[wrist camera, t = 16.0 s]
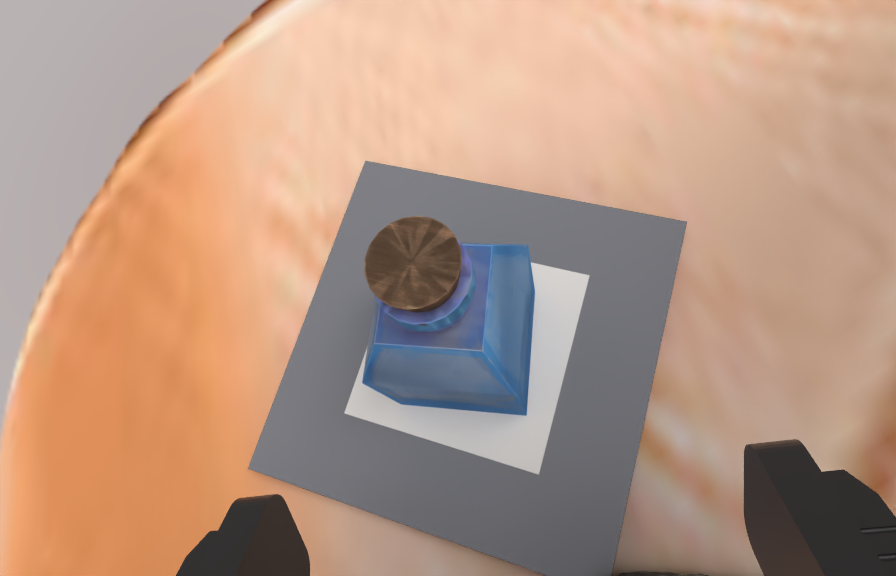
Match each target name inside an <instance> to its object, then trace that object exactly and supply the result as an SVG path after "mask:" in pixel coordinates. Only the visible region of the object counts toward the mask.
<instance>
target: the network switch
mask: <svg viewBox="0 0 896 576" xmlns="http://www.w3.org/2000/svg"><path fill="white" fill-rule="evenodd" d="M617 576H707V575H704V574H687V575H679V574H673V573H667V572H647V571H641V572H631V573H621V574H618V575H617Z"/></svg>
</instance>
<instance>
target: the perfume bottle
mask: <svg viewBox="0 0 896 576" xmlns="http://www.w3.org/2000/svg"><path fill="white" fill-rule="evenodd" d="M364 274H365V277H366V280H367V283H368V286H369V288H370V289H371V291H372V292H373V293H374V296H375V301H374V308H373V314H372V321H371V327H370V334H369V341H368V347H367V354H366V360H365V367H364V373H363V380H362V383H363V384H364V385H366V386H368V387H370V388H372V389H374V390H375V391H377V392H379V393H381V394H383V395H385V396H387V397H388V398H390V399H392V400H394V401H396V402H398V403H399V404H401V405H412V406H423V407H434V408H446V409H457V410H468V411H479V412H490V413H501V414H512V415H523V416H527V404H528V389H529V374H530V360H531V345H532V330H533V316H534V301H535V288H534V281H533V274H532V267H531V260H530V253H529V246H528V245H520V244H488V243H460V242H459V241H458V240H457V238H456V236H455V235H454V233H453V232H452V231H451V230H450V229H449V228H448V227H447V226H446V225H445V224H443V223H441V222H439V221H437V220H436V219H434V218H429V217H424V216H411V217H403V218H401V219H399V220H396V221H394V222H392V223H389V224H388V225H387V226H386V227H385V228H383V229H382V230H381V231H380V232H378V233H377V235H376V236H375V238H374V239H373V241H372V242H371V243H370V245H369V247H368V250H367V253H366V256H365V259H364Z"/></svg>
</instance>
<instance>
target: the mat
mask: <svg viewBox="0 0 896 576" xmlns="http://www.w3.org/2000/svg"><path fill="white" fill-rule="evenodd" d="M411 216H424V217H429V218H434V219H436V220H437V221H439V222H441V223H443V224H445V225H446V226H447V227H448V228H449V229H450V230H451V231H452V232H453V233H454V235H455V236H456V238H457V240H458V241H459V242H460V243H488V244H520V245H528V246H529V253H530V260H531V267H532V274H533V281H534V288H535V301H534V316H533V330H532V345H531V360H530V374H529V389H528V404H527V416H523V415H512V414H501V413H490V412H479V411H468V410H457V409H446V408H434V407H423V406H412V405H401V404H399V403H398V402H396V401H394V400H392V399H390V398H388V397H387V396H385V395H383V394H381V393H379V392H377V391H375V390H374V389H372V388H370V387H368V386H366V385H364V384H363V383H362V380H363V373H364V367H365V360H366V354H367V347H368V341H369V334H370V327H371V321H372V314H373V308H374V301H375V296H374V293H373V292H372V291H371V289H370V288H369V286H368V283H367V280H366V277H365V274H364V259H365V256H366V253H367V250H368V247H369V245H370V243H371V242H372V241H373V239H374V238H375V236H376V235H377V233H378V232H380V231H381V230H382V229H383V228H385V227H386V226H387V225H388V224H389V223H392V222H394V221H396V220H399V219H401V218H403V217H411ZM686 224H687V222H685V221H680V220H675V219H669V218H664V217H659V216H654V215H648V214H643V213H638V212H633V211H627V210H622V209H617V208H612V207H606V206H601V205H596V204H590V203H585V202H580V201H575V200H569V199H564V198H559V197H554V196H548V195H543V194H538V193H533V192H527V191H522V190H517V189H512V188H506V187H501V186H496V185H490V184H485V183H480V182H475V181H469V180H464V179H459V178H454V177H448V176H443V175H438V174H433V173H427V172H422V171H417V170H412V169H406V168H401V167H396V166H390V165H385V164H380V163H375V162H369V161H365V163H364V166H363V168H362V171H361V174H360V176H359V179H358V182H357V184H356V187H355V189H354V192H353V195H352V197H351V200H350V203H349V205H348V208H347V210H346V213H345V216H344V218H343V221H342V224H341V226H340V229H339V231H338V234H337V237H336V239H335V242H334V244H333V247H332V250H331V252H330V255H329V258H328V260H327V263H326V265H325V268H324V271H323V273H322V276H321V279H320V281H319V284H318V286H317V289H316V292H315V294H314V297H313V300H312V302H311V305H310V307H309V310H308V313H307V315H306V318H305V321H304V323H303V326H302V328H301V331H300V334H299V336H298V339H297V342H296V344H295V347H294V349H293V352H292V355H291V357H290V360H289V363H288V365H287V368H286V370H285V373H284V376H283V378H282V381H281V383H280V386H279V389H278V391H277V394H276V397H275V399H274V402H273V404H272V407H271V410H270V412H269V415H268V418H267V420H266V423H265V425H264V428H263V431H262V433H261V436H260V439H259V441H258V444H257V446H256V449H255V452H254V454H253V457H252V460H251V462H250V465H249V467H248V469H251V470H253V471H256V472H259V473H262V474H265V475H267V476H270V477H273V478H276V479H278V480H281V481H284V482H287V483H290V484H292V485H295V486H298V487H301V488H304V489H306V490H309V491H312V492H315V493H317V494H320V495H323V496H326V497H329V498H331V499H334V500H337V501H340V502H343V503H345V504H348V505H351V506H354V507H357V508H359V509H362V510H365V511H368V512H370V513H373V514H376V515H379V516H382V517H384V518H387V519H390V520H393V521H396V522H398V523H401V524H404V525H407V526H409V527H412V528H415V529H418V530H421V531H423V532H426V533H429V534H432V535H435V536H437V537H440V538H443V539H446V540H449V541H451V542H454V543H457V544H460V545H462V546H465V547H468V548H471V549H474V550H476V551H479V552H482V553H485V554H488V555H490V556H493V557H496V558H499V559H501V560H504V561H507V562H510V563H513V564H515V565H518V566H521V567H524V568H527V569H529V570H532V571H535V572H538V573H541V574H543V575H546V576H611V574H612V570H613V565H614V560H615V556H616V551H617V546H618V542H619V537H620V532H621V528H622V523H623V518H624V514H625V509H626V504H627V500H628V495H629V490H630V486H631V481H632V476H633V472H634V467H635V462H636V458H637V453H638V448H639V443H640V439H641V434H642V429H643V425H644V420H645V415H646V411H647V406H648V401H649V397H650V392H651V387H652V383H653V378H654V373H655V369H656V364H657V359H658V355H659V350H660V345H661V341H662V336H663V331H664V327H665V322H666V317H667V313H668V308H669V303H670V299H671V294H672V289H673V285H674V280H675V275H676V271H677V266H678V261H679V257H680V252H681V247H682V243H683V238H684V233H685V229H686Z"/></svg>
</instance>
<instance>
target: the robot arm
mask: <svg viewBox="0 0 896 576" xmlns="http://www.w3.org/2000/svg"><path fill="white" fill-rule="evenodd" d="M744 518H745V524H746V529H747V533H748V537H749V540H750V543H751V546H752V549H753V551H754V554H755V556H756V558H757V560H758V563H759V565H760V567H761V569H762V572H763V574H764V576H896V517H895V516H894V515H893V513H892V512H891V511H890V509H889V508H888V507H887V505H886V504H885V503H884V501H883V500H882V499H881V497H880V496H879V495H878V494H877V493H876V492H875V491H873V490H872V489H870V488H869V487H868V486H866V485H865V484H863V483H862V482H861V481H859V480H858V479H856V478H855V477H854V476H852V475H851V474H849V473H848V472H847V471H845V470H836V471H826V472H821V470H820V469H819V467H818V466H817V464H816V463H815V461H814V460H813V458H812V457H811V455H810V454H809V452H808V451H807V449H806V448H805V446H804V445H803V444H802V443H801V442H800V441H799V440H796V439H794V440H785V441H776V442H766V443H757V444H748V445H746V447H745V450H744ZM176 576H310V561H309V555H308V551H307V549H306V547H305V544H304V542H303V540H302V538H301V535H300V533H299V531H298V529H297V526H296V524H295V522H294V520H293V518H292V515H291V513H290V511H289V509H288V506H287V504H286V502H285V500H284V499H283V497H282V496H280V495H278V494H274V495H265V496H255V497H246V498H239V499H237V500H235V501H234V502H233V504H232V505H231V507H230V509H229V510H228V512H227V514H226V516H225V518H224V520H223V522H222V524H221V526H220V528H219V530H218V531H210V532H209V533H208V534H207V535H206V536H205V537H204V538H203V539H202V540H201V541H200V542H199V544H198V545H197V546H196V547H195V548H194V549H193V550H192V551H191V552H190V553H189V554H188V555H187V556H186V558H185V560H184V562H183V563H182V565H181V567H180V569H179V571H178V573H177V575H176Z"/></svg>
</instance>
